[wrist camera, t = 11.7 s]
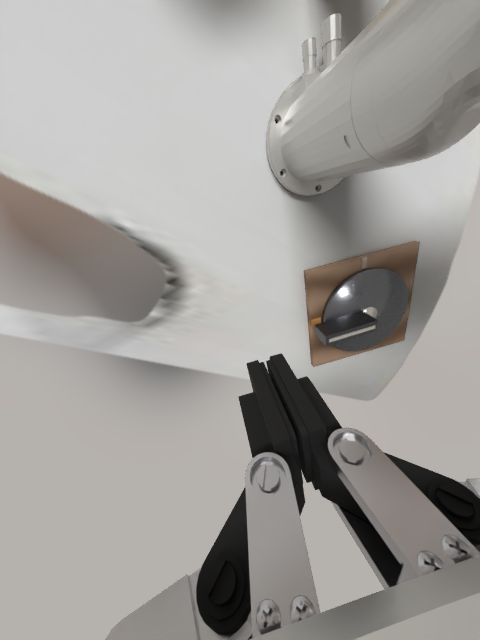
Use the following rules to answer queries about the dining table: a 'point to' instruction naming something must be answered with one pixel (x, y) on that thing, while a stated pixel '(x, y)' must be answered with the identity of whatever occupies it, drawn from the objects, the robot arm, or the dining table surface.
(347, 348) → the dial
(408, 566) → the robot arm
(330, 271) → the dial base plate
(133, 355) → the dining table surface
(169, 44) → the dining table surface
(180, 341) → the dining table surface
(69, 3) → the dining table surface
